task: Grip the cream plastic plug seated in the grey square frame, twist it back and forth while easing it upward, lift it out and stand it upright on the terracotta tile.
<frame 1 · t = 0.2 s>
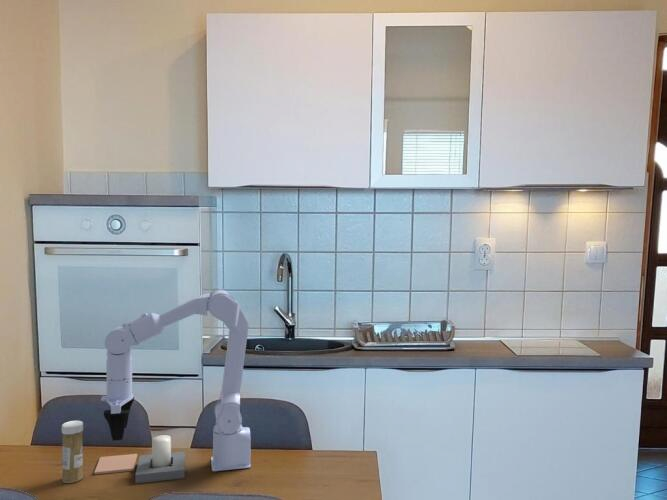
hand: (119, 433, 127), 10 cm above the table, tool pointing down, fingers open, 7 cm apart
plug: (161, 454, 129), in the grey square frame
grey square frame: (161, 470, 129), on the table
sprinkles bottle: (72, 480, 124), on the table
tile: (116, 464, 132), on the table
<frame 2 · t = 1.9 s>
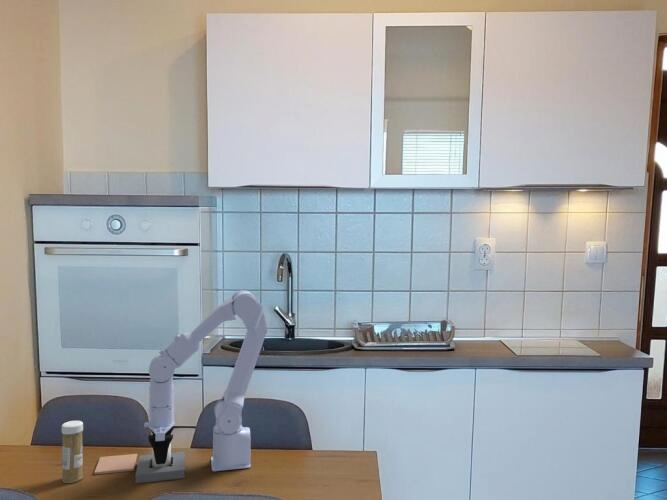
hand: (161, 459, 129), 3 cm above the table, tool pointing down, fingers closed on plug, 4 cm apart
plug: (161, 454, 129), in the grey square frame, touching gripper
everything else where it was.
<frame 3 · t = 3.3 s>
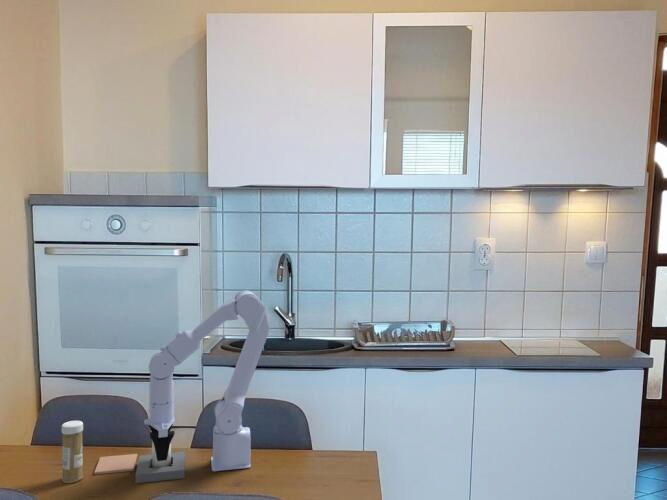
hand: (161, 456, 129), 4 cm above the table, tool pointing down, fingers closed on plug, 4 cm apart
plug: (161, 451, 129), in the grey square frame, point 5 cm above the table, touching gripper
everything else where it was.
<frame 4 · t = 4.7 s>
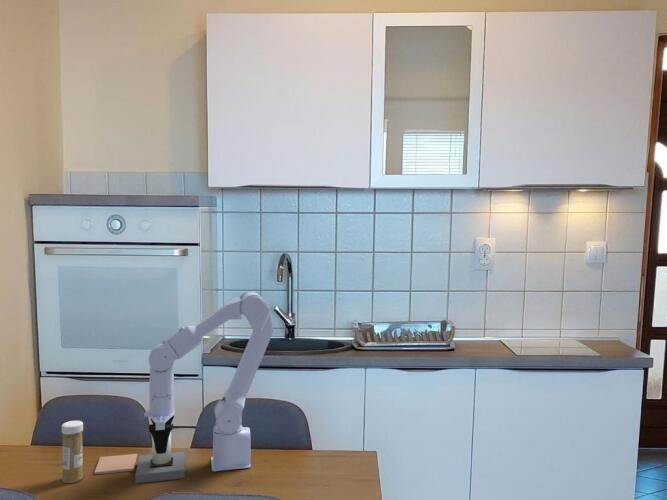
hand: (161, 448, 129), 5 cm above the table, tool pointing down, fingers closed on plug, 4 cm apart
plug: (161, 444, 129), point 6 cm above the table, touching gripper
everything else where it was.
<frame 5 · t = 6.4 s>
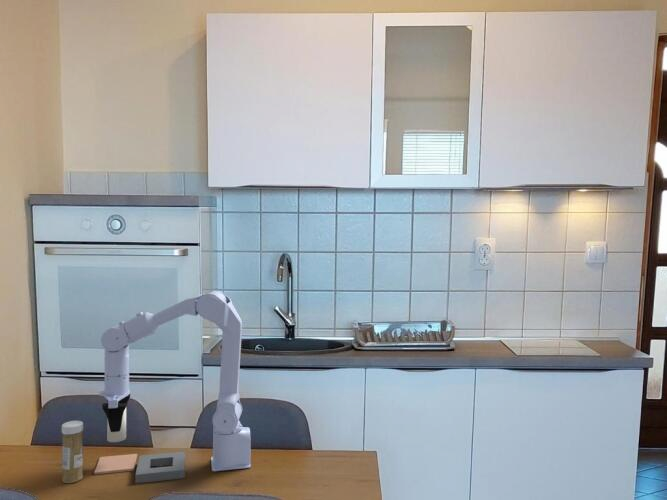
hand: (116, 427, 132), 9 cm above the table, tool pointing down, fingers closed on plug, 4 cm apart
plug: (116, 423, 132), point 11 cm above the table, touching gripper
everything else where it was.
when the fingers open (4 cm above the table, at t = 7.7 s): plug stays where it is, resting on tile.
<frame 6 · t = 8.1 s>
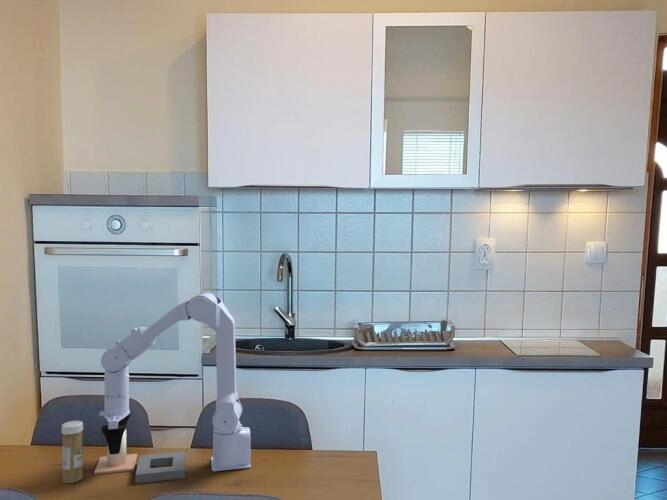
hand: (116, 447, 132), 4 cm above the table, tool pointing down, fingers open, 7 cm apart
plug: (116, 446, 132), on the tile, point 5 cm above the table
everything else where it was.
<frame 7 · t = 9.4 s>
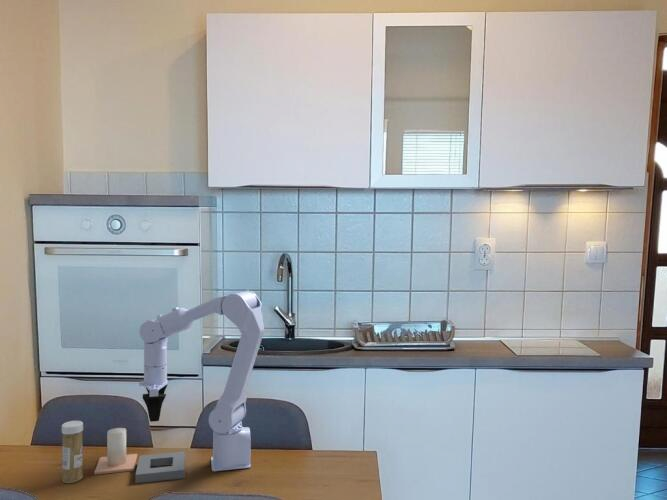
hand: (155, 416, 138), 10 cm above the table, tool pointing down, fingers open, 7 cm apart
nothing on the table moved.
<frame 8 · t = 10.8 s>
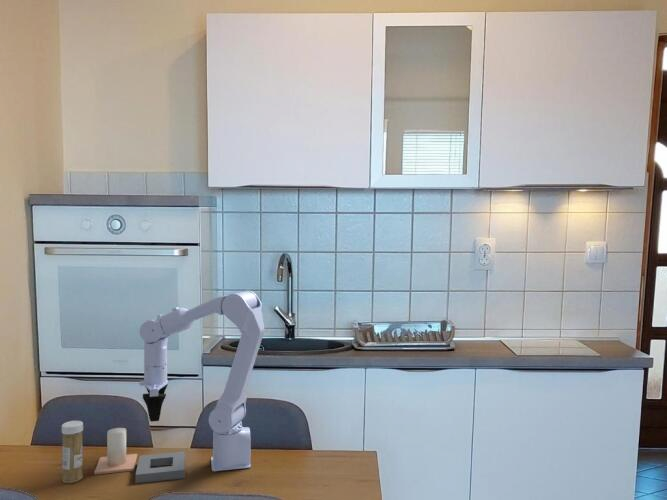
hand: (155, 415, 138), 10 cm above the table, tool pointing down, fingers open, 7 cm apart
nothing on the table moved.
at the end: plug 0.0 cm off-centre on the tile, point 4.6 cm above the tile's base; plug tilted 1°; the gripper is holding nothing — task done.
